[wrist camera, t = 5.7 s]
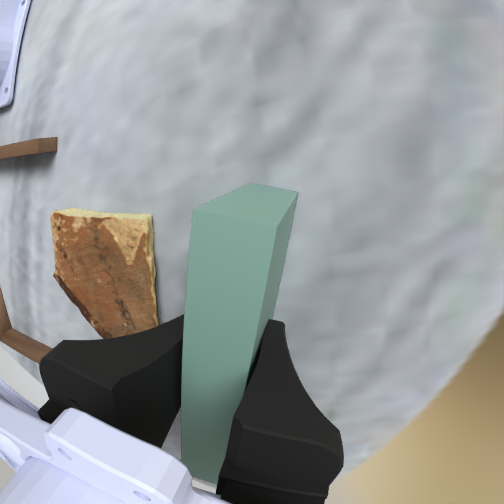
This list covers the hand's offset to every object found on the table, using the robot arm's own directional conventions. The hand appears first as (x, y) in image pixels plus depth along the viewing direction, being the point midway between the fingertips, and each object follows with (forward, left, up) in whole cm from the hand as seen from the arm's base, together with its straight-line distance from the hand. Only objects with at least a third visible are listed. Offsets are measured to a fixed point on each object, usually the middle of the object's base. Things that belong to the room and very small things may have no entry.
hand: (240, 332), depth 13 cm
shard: (0, -7, -3) cm, 7 cm away
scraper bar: (0, 0, -2) cm, 2 cm away
